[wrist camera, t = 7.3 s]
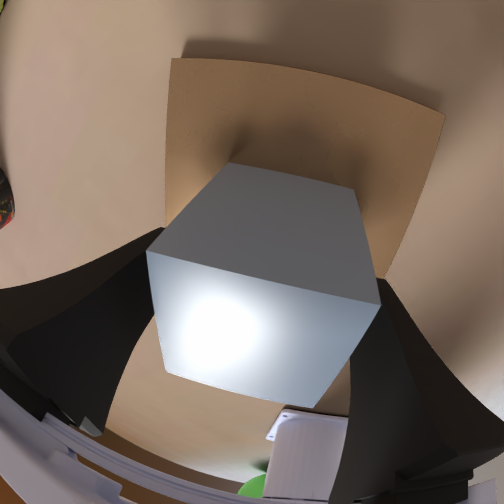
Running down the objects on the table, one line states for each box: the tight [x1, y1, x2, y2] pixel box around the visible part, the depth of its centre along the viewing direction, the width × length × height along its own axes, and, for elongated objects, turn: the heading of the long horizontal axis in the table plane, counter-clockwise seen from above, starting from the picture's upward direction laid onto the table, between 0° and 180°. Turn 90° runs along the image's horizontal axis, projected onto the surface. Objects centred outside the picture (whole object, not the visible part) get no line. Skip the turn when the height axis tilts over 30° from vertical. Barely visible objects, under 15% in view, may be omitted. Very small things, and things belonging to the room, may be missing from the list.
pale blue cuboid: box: [146, 162, 381, 408], centre depth 10 cm, size 5×5×7 cm
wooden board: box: [165, 58, 445, 279], centre depth 11 cm, size 14×11×6 cm
